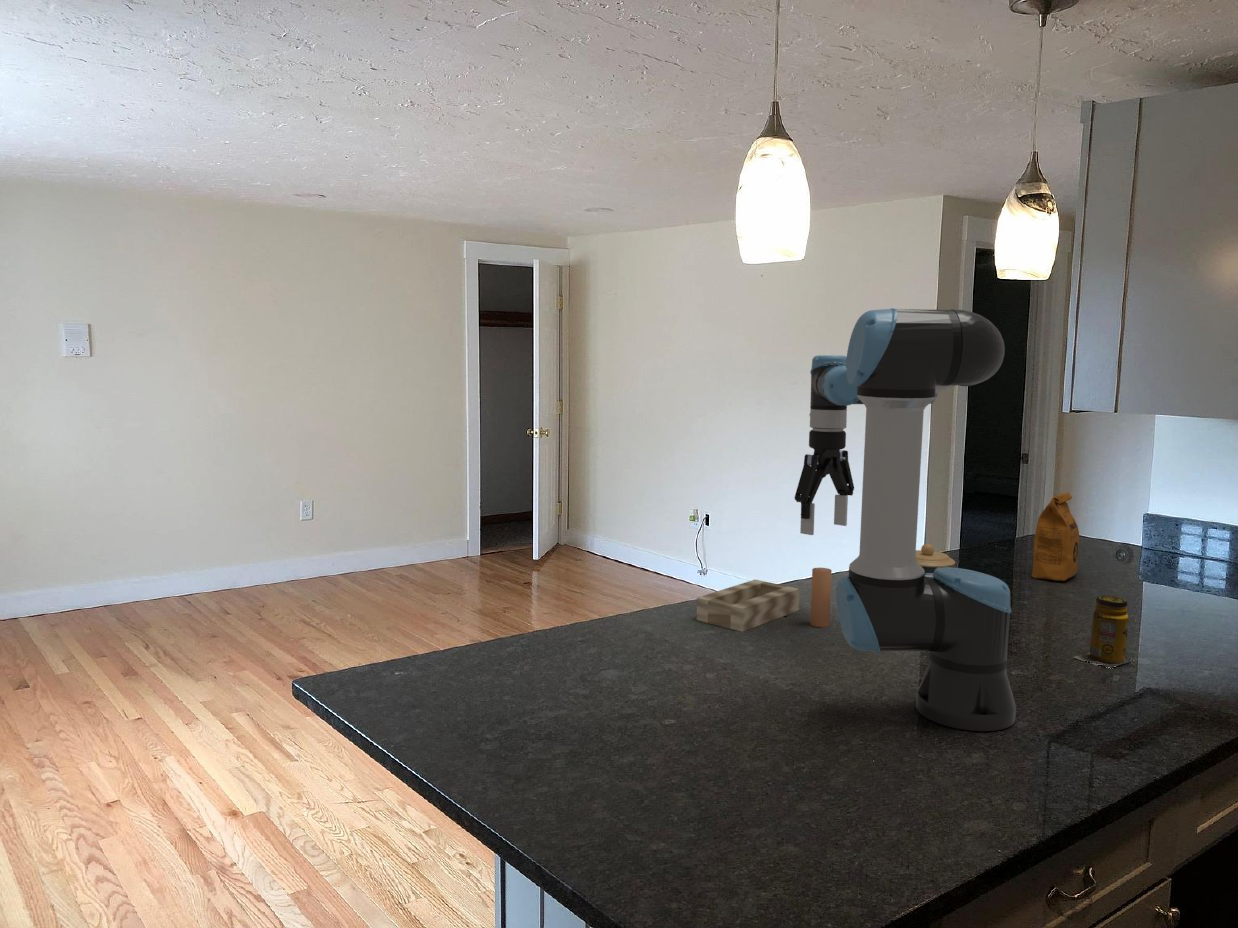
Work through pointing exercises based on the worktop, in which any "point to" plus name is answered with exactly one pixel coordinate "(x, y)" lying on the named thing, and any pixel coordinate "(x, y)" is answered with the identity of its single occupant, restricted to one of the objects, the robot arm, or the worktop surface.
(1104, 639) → the condiment
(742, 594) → the socket block
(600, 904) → the worktop surface
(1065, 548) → the coffee package
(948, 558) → the canister
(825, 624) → the peg
